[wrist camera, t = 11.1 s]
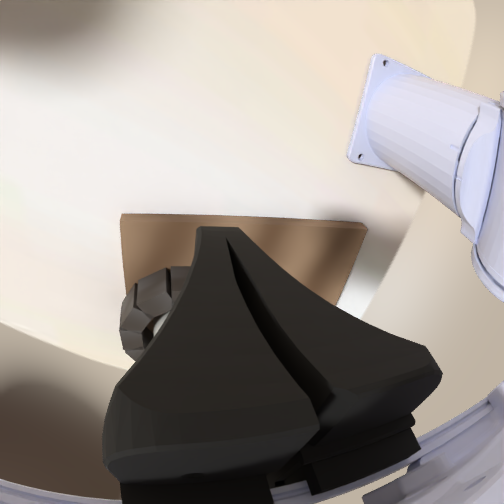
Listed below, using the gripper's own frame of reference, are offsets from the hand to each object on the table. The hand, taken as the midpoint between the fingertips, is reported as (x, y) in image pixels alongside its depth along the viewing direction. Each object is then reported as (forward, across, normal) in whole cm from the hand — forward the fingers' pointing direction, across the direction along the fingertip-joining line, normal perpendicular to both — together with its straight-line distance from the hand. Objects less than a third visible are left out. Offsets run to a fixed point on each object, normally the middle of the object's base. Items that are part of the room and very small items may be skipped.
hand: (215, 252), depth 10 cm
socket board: (+10, -4, +11) cm, 15 cm away
